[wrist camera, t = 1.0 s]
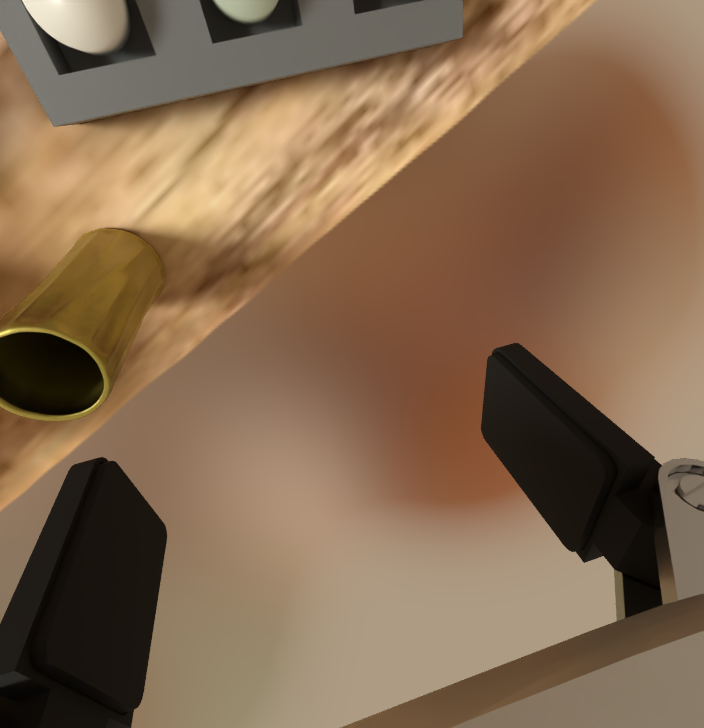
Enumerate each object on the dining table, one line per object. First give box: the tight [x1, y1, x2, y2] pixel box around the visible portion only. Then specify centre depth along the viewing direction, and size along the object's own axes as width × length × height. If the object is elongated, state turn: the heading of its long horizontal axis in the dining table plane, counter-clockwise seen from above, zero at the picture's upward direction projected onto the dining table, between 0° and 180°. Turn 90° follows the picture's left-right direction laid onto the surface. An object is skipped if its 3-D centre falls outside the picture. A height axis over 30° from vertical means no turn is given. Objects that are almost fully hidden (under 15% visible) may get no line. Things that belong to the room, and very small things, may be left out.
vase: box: [0, 228, 165, 421], centre depth 23 cm, size 6×6×14 cm
